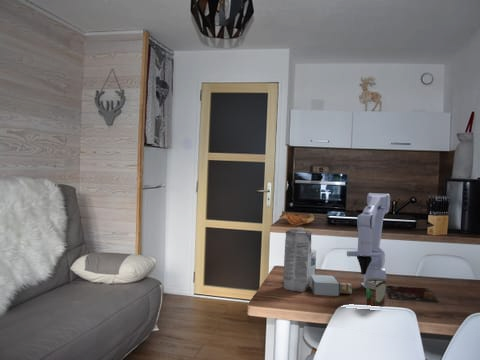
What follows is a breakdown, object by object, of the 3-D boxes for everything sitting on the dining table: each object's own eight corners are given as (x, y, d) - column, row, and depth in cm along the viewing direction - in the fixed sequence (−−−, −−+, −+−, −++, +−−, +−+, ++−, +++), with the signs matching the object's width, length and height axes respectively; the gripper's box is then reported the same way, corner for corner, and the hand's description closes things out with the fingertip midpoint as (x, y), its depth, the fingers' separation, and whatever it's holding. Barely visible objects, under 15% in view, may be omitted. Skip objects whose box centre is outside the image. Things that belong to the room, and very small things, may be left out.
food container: (370, 300, 168) (371, 276, 168) (385, 304, 164) (387, 279, 164) (358, 307, 158) (359, 281, 158) (374, 310, 154) (375, 284, 154)
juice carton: (305, 293, 174) (307, 229, 174) (281, 289, 178) (284, 227, 178) (310, 288, 182) (313, 227, 182) (287, 285, 186) (290, 225, 186)
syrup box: (309, 282, 194) (311, 251, 194) (298, 280, 197) (300, 249, 197) (315, 280, 198) (316, 250, 198) (304, 278, 202) (305, 248, 202)
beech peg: (349, 291, 178) (350, 282, 178) (351, 293, 174) (352, 285, 174) (326, 289, 178) (326, 281, 178) (328, 292, 175) (328, 283, 175)
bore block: (333, 287, 186) (333, 275, 186) (339, 296, 172) (340, 283, 172) (310, 286, 187) (310, 274, 187) (314, 294, 173) (315, 282, 173)
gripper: (349, 242, 172) (348, 275, 172) (385, 244, 172) (383, 277, 172) (346, 240, 179) (344, 271, 179) (379, 242, 179) (378, 273, 179)
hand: (363, 273), depth 176 cm, fingers closed
